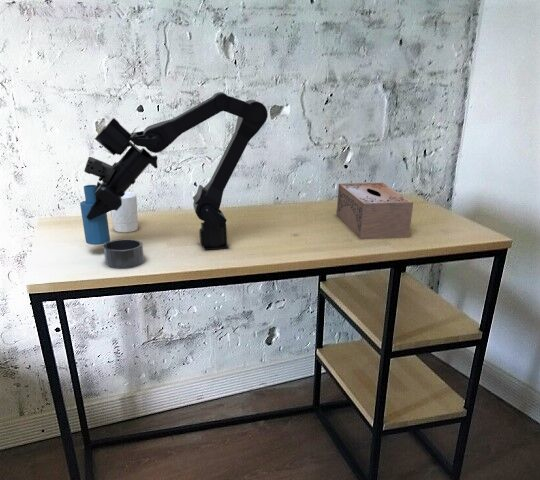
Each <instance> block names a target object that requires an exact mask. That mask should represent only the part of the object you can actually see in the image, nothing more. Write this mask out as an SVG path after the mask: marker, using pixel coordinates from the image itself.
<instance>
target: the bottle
mask: <svg viewBox="0 0 540 480" xmlns="http://www.w3.org/2000/svg"><path fill="white" fill-rule="evenodd" d="M95 190H97V184H87V185H86V184H85V185H84V186H83V192H84V193H83V194H84V199H85V200H83V201H81V202H79V206H80V212H81V213H80V214H81V219H82V226H83V232H84V239H85V243H86V244H88V245H92V246H93V245H94V246H96V245H97V246H98V245H105V244H106V243H108V242H110V241H111V237H110V228H109V221H108V212H107V213H105V214H102V215H100V216H98V217H96V218H94V219H91V220H89V219H87V218H86V217H87V215H88V213H89V211H90V209H91V208H92V206H93V204H94V202H95V201H96V197H95Z"/></svg>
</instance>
